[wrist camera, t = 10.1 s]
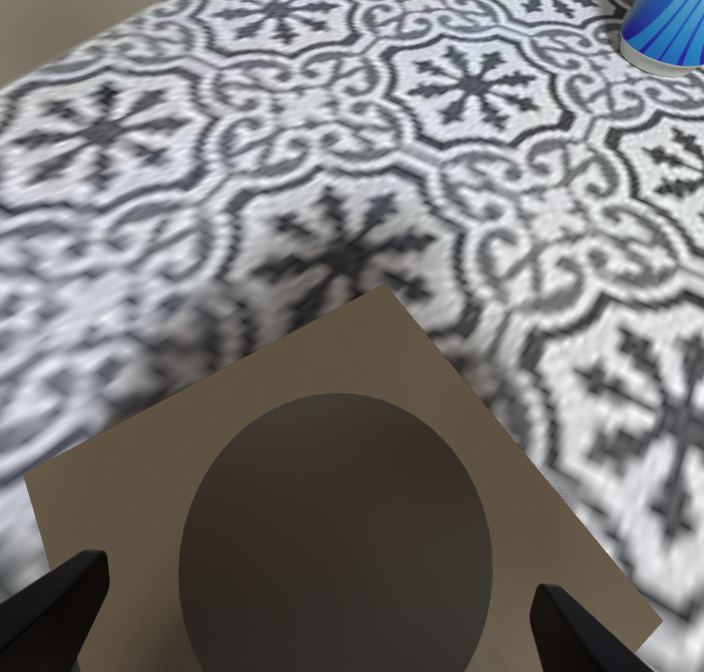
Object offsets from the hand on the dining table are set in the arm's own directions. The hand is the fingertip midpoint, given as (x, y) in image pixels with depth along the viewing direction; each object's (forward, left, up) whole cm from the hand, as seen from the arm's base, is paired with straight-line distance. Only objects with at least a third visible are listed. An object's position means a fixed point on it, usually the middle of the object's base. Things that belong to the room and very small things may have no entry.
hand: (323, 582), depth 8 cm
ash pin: (0, -1, -10) cm, 10 cm away
